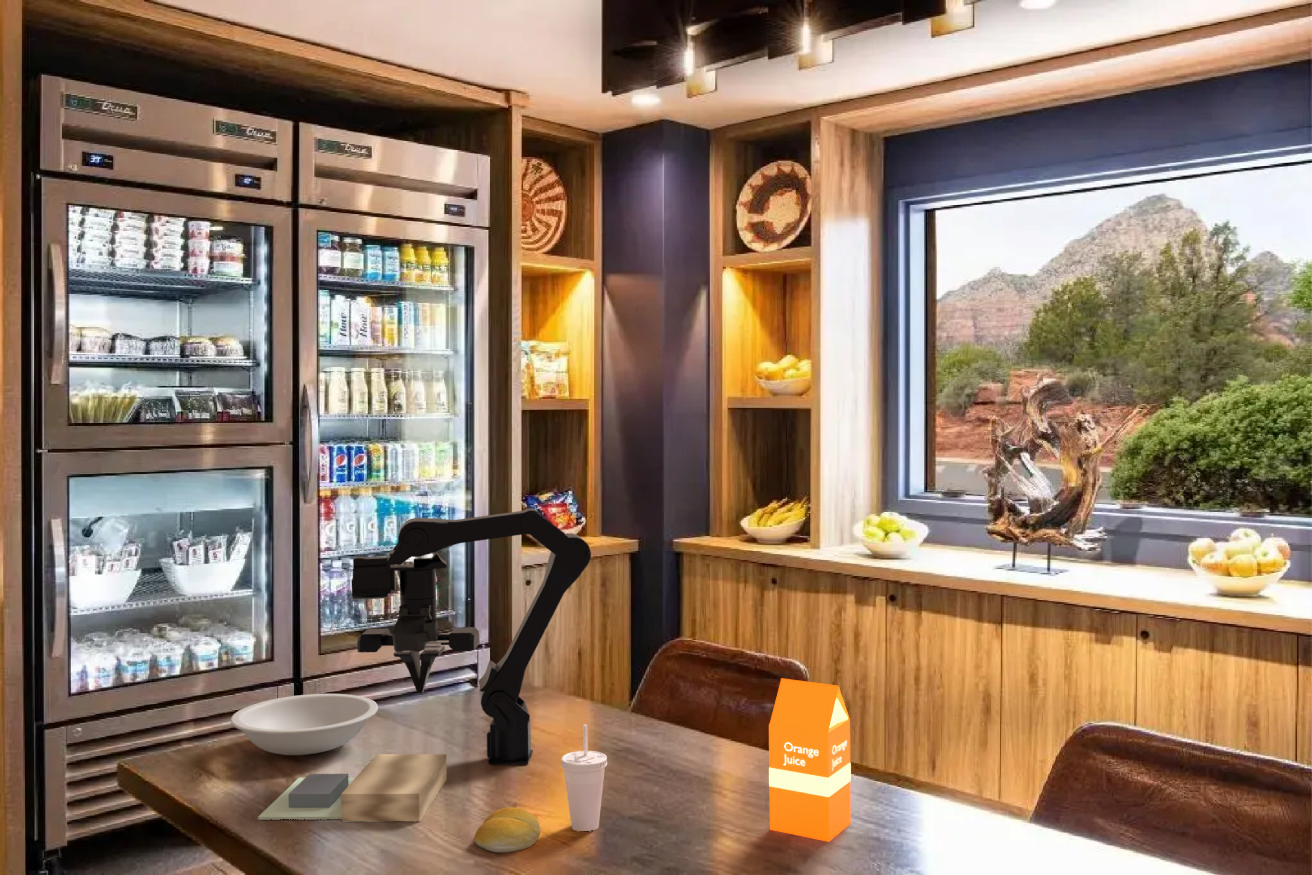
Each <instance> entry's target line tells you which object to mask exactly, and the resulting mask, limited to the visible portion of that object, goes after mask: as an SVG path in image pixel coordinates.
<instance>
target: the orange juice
mask: <svg viewBox="0 0 1312 875" xmlns="http://www.w3.org/2000/svg"><path fill="white" fill-rule="evenodd" d="M769 721H770V722H769V724H768V757H769V758H768V759H769V761H768V762H769V764H768V765H769V767H768V787H769V831H775V832H780V833H784V834H785V833H786V834H789V835H793V836H794V835H795V836H799V837H804V838H808V839H813V840H819V841H822V842H831V841H832V840H833V839H835V837H837V836H838V835H839V834H840V833H841V832H842V831H843V832H844V830H845V829H846V828H848V827H849V826H850V825H851V824H852V823H851V822H852V818H851V817H852V816H851V815H852V814H851V813H852V812H851V810H852V808H851V804H852V802H851V781H852V778H851V777H852V772H851V770H852V768H851V767H852V765H851V719H850V717H849V713H848V710H847V707H846V705H845V701H844V698H843V695H842V693H841V689H840V686H839V685H835V684H829V683H828V684H827V683H821V682H820V683H819V682H811V681H804V680H797V679H790V678H780V682H779V686H778V690H777V695H776V698H775V701H774V706H773V710H772V713H771V717H770V720H769Z"/></svg>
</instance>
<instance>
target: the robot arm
mask: <svg viewBox="0 0 1312 875" xmlns="http://www.w3.org/2000/svg"><path fill="white" fill-rule="evenodd" d="M522 535H529V536H530V537H532V538H533V539H535V540H536V541H537V542H538V543H540V544H541V545H542V546H543V547H544V548H546V549H548V551H550V553H549V556H548V560H547V563H546V568H545V573H544V577H543V580H542V582H541V585H540V587H539V588H538V590H537V592H536V594H535V596H534V598H533V600H532V602H531V603H530V605H529V608H528V610H527V612H526V614H525V616H524V617H523V620H522V621H521V624H520V625H519V627H518V629H517V631H516V633H515V635H514V637H513V639H512V640H511V643H510V645H509V646H508V649H507V651H506V653H505V654H504V656H503V657H502V658H501V659H500V660H499V661H498V662H497V663H495V662H494V661H492V660H489V661H488V663H487V666H486V669H485V672H484V674H483V675H482V676H481V678H480V679H479V680H478V685H479V691H478V694H479V700H480V701H479V702H480V706H481V710H482V711H483V712H484V714H485V715H487V716H488V717H490V718H492V720H491V722H490V723H489V730H488V731H487V733H486V757H487V758H488V761H487V762H488V764H487V765H528V764H529V762H530V760H531V759H532V756H533V754H534V750H533V749H532V737H531V736H532V735H531V734H532V733H531V730H532V729H531V728H532V727H531V716H530V712H529V709H528V706H527V702H526V700H524V699H523V698H522V697H520V693H521V689H522V685H523V681H524V677H525V672H526V669H527V667H528V666H529V663H530V661H531V659H532V657H533V656H534V653H535V651H536V649H537V648H538V646H539V643H540V641H541V639H542V637H543V635H544V634H545V632H546V630H547V628H548V626H549V624H550V623H551V620H552V618H553V617H554V614H555V612H556V611H557V609H558V606H559V605H560V602H561V600H562V598H563V596H564V595H565V593H566V592H567V591H568V589H570V588H571V586H572V585H573V584H575V582H576V581H577V580H578V579H579V577H580V576H581V575H582V574H583V572H584V571H585V569H586V568H587V567H588V565H589V564H590V561H591V557H592V551H591V549H590V548H591V547H590V546H589V544H588V543H587V542H586V541H585V540H584V539H583V538H582V537H581V536H579V535H578V534H575V533H567V532H566V533H565V532H564V531H562V530H561V529H560V528H559V527H557V526H556V525H555V524H554V523H552V522H551V521H549V520H548V519H547V518H545V517H544V516H543V515H542V514H541V513H540V512H539V511H538V510H537V509H535V508H525V509H523V510H519V511H513V512H512V511H510V512H504V513H496V514H490V515H481V516H474V517H466V518H458V519H447V518H446V519H445V518H435V517H430V518H429V517H414V518H410V519H407V520H405V522H404V523H403V524H402V526H401V527H400V530H399V533H398V535H397V536H398V537H397V538H398V539H397V540H398V541H397V543H396V545H395V546H394V547H393V548H392V549H390V550H389V554H388V556H374V557H365V556H355V557H354V558H353V559H352V565H353V566H352V578H351V598H352V601H356V600H357V601H359V600H360V601H361V600H377V599H378V600H380V599H389V597H390V595H391V594H392V593H393V592H396V590H397V589H396V571H399V606H398V608H399V609H398V616H397V620H396V622H395V625H394V626H393V629H392V631H391V630H390V628H367V629H366V630H365V631H364V632H363V633H361V634H360V635H359V636H358V638H357V643H356V645H357V646H356V648H357V652H358V653H377V652H378V651H379V650H380V649H381V648H382V647H386V646H387V647H392V646H393V650H394V652H393V655H392V656H393V657H395V658H399V659H400V660H402V662H403V663H404V664H405V666H406V668H407V670H408V673H409V675H410V678H411V680H412V683H413V686H414V689H415V690H416V693H417V694H423V693H424V691H425V688H426V685H427V682H428V679H429V675H430V673H431V670H432V667H433V664H434V662H435V661H436V658H437V657H439V656H440V655H442V653H443V652H444V651H445V650H446V646H448V647H449V648H450V649H451V650H452V651H453V652H472V651H473V652H474V651H475V649H477V647H478V646H479V645H480V643H481V642H480V631H479V630H478V628H476V627H474V626H473V627H470V626H469V627H454V628H452V630H451V631H450V632H448V633H447V632H446V633H444V632H443V633H440V627H439V626H440V625H439V620H438V619H437V606H438V599H437V582H436V581H437V580H436V579H437V578H436V577H437V576H436V574H437V573H436V570H440V569H443V570H445V569H447V567H448V564H447V563H448V562H447V561H446V560H444V559H443V558H442V557H441V556H440V554H439V553H438V552H439V551H441V550H445V549H446V548H450V547H453V546H454V545H458V544H465V543H466V544H467V543H471V542H478V541H479V542H480V541H486V540H493V539H501V538H508V537H516V536H522ZM432 553H433V555H432V556H431V557H424V556H428V555H430V554H432ZM411 557H412V558H413V563H407V564H403V563H405V562H406V561H408V560H409V559H410V558H411ZM419 557H421V558H419ZM422 557H423V558H422Z"/></svg>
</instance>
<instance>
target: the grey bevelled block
mask: <svg viewBox="0 0 1312 875" xmlns="http://www.w3.org/2000/svg"><path fill="white" fill-rule="evenodd" d="M348 777H349V773H309V774H307V775H306V776H305V777H304V778H305V779H304V780H303V781H301V782H300V783H299V784H298V785H297V786H296V787H295V788H294V789H293V790H292V791H291V792H290V793H289V808H330V807H331V806H332V805H333V803H334V802H335V801H336V800H337V799H338V798H339V797H340V796H341V794H342V793H343V791H344V790H345V789H346V788H347V787H348V786H349V783H348Z"/></svg>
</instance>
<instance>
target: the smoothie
mask: <svg viewBox="0 0 1312 875" xmlns="http://www.w3.org/2000/svg"><path fill="white" fill-rule="evenodd" d="M582 730H583V731H582V732H583V734H582V735H583V736H582V738H583V750H578V751H577V750H576V751H572V752H568V753H566V754H564V755H563V756H561V764H560V767H561V768H562V769H563V773H564V781H565V789H566V793H567V794H566V796H567V803H568V809H569V810H568V811H569V816H570V824H571V829H572V830H573V831H575V830H578V831H577V832H579V831H589V832H592V831H591V830H593V831H595V830H597V829H599V826H600V815H601V807H602V797H603V788H604V778H605V771H606V770H605V768H606V767H607V765H608V757H607V755H606V754H605V753H602V752H601V751H595V750H589V749H588V724H583V725H582Z"/></svg>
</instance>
